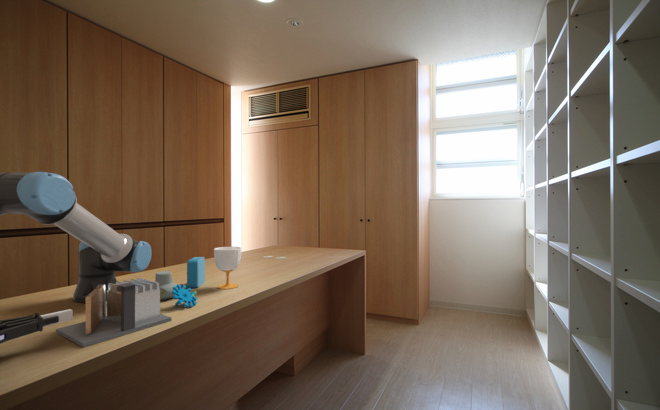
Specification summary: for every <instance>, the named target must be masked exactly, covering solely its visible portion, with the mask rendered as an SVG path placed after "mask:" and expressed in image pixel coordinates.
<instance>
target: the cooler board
mask: <svg viewBox="0 0 660 410" xmlns="http://www.w3.org/2000/svg"><path fill="white" fill-rule="evenodd" d="M117 290H118V291H121V324H118V323H116V322H113V321H111V320H108V319H107V315H106V317H105V318H103V319H102V320H101V321H100V323H99V324H98V325H97V326H96V328H95V329H94V330H93V331H92V333H91V334H86V320H85V321H82V322H78V323H74V324H69V325H66V326H62V327H58V328H55V333H56V334H58V335H60V336H62V337H64V338H66V339H67V340H70V341H71V342H73V343H75V344H77V345H79V346H81V347H82V348H86V347H90V346H93V345H95V344H99V343H103V342H105V341H109V340H113V339H116V338H119V337H122V336H125V335H129V334H131V333H135V332H139V331H141V330H145V329H148V328H152V327H156V326H158V325H161V324H165V323H168V322H171V321H172V317H171V316H168V315H165V314H162V313H160V317H159V318H156V319H153V320H149V321H146V322H142V323H139V324H135V285H134V284H130V283H126V284H120V285H117Z"/></svg>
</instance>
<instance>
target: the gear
mask: <svg viewBox="0 0 660 410" xmlns="http://www.w3.org/2000/svg"><path fill="white" fill-rule="evenodd" d="M177 288H178V289H177ZM186 288H187V289H186ZM191 291H192V288H188V287H187V285H185V284H183V285H181V284H179V283H177V286H174V287H173V291H172V294H175V295H174V296H173V297H172V298H173V299H174V300H177V301H176V302H175V303H174V305H175V306H178V305H181V304H182V303H183V305H182V306H183V307H184V308H187V307H189V308H193V307H194V306H195V305H197V300H198V297H196V295H197V294H198V292H197V291H196V290H195V291H192V292H191Z"/></svg>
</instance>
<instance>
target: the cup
mask: <svg viewBox="0 0 660 410" xmlns="http://www.w3.org/2000/svg"><path fill="white" fill-rule="evenodd" d="M213 256H214V264H215V266H216V267H217V269H218V270H219V271H221V272H224V273H225V275H226V280H225V281H226V283H224V284H220V285H217V286H216V288H217V289H219V290H232V289H237V288H238V287H239V284H236V283H230V272H233V271H235V270H236V269H237V268H238V266H239V265H240V263H241V257H242V247H240V246H221V247H220V246H219V247H214V249H213Z"/></svg>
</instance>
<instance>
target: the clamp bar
mask: <svg viewBox="0 0 660 410" xmlns="http://www.w3.org/2000/svg"><path fill="white" fill-rule="evenodd" d="M106 316H107V300H106V284H101V285H97V288H96V289H94V290H93V291H92V292H91V293H90V294H89V295H88V296H86V303H85V321H86V334H91V333H92V331H93V330H94V329H95V328H96V326H97V325H98V324H99V323H100V321H101V320H102V319H103V318H105V317H106Z"/></svg>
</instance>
